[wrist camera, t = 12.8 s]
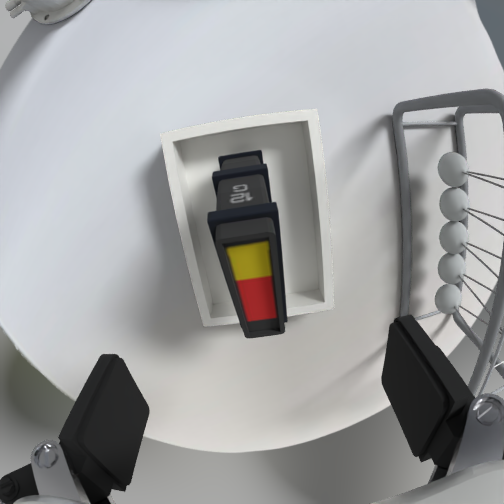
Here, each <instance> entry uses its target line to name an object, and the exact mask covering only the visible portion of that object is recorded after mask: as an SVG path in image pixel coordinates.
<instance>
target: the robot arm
mask: <svg viewBox="0 0 504 504" xmlns="http://www.w3.org/2000/svg"><path fill="white" fill-rule="evenodd" d="M89 1H91V0H9V1H8V2H7V3H6V5H5V7H6V9H7V10H8V11H11V10H13V9H14V8H15V9H14V10H13V11H11V13H10V16H11V17H12V18H15V17H16V16H18V15H19V14H21V13H22V12H23V11H24V10H25V11H30V13H31V16H32V17H33V19H34V20H36V21H37V22H40V23H42V24H53V23H57V22H60V21H62V20H64V19H66V18H68V17H70V16H72V15H73V14H75V13H76V12H78V11H79V10H80V9H81V8H83V7H84V6H85V5H86V4H87V3H88V2H89ZM20 4H21V5H20ZM18 5H20V6H18ZM17 6H18V7H17ZM16 7H17V8H16ZM381 379H382V385H383V388H384V390H385V392H386V394H387V396H388V399H389V401H390V403H391V405H392V407H393V409H394V412H395V414H396V416H397V418H398V421H399V423H400V425H401V427H402V430H403V432H404V434H405V437H406V439H407V441H408V444H409V446H410V448H411V450H412V453H413V455H414V456H415V457H417V456H419V459H420V461H421V462H423V461H426V460H428V459H430V458H432V460H433V462H434V464H435V467H434V470H433V473H432V475H431V477H430V480H429V482H428V484H427V485H424V486H421V487H419V488H416V489H414V490H411V491H408V492H405V493H402V494H399V495H396V496H394V497H390V498H387V499H384V500H381V501H377V502H374V503H371V504H504V400H503V399H502V398H501V397H499V396H498V395H495V394H492V393H485V394H481V395H479V396H477V397H476V398H475V397H474V395H473V394H472V392H471V391H470V389H469V388H468V386H467V385H466V384H465V382H464V381H463V379H462V378H461V377H460V375H459V374H458V372H457V371H456V370H455V368H454V367H453V365H452V364H451V363H450V361H449V360H448V359H447V357H446V356H445V355H444V353H443V352H442V351H441V349H440V348H439V347H438V346H436V345H435V344H434V343H433V342H432V340H431V339H430V338H429V336H428V335H427V334H426V332H425V331H424V330H423V329H422V327H421V326H420V325H419V324H418V322H417V321H416V320H415V319H414V317H413V316H412V315H406V316H402V317H398V318H395V320H394V323H391V324H390V327H389V334H388V341H387V348H386V354H385V361H384V366H383V372H382V378H381ZM148 416H149V406H148V404H147V402H146V401H145V399H144V397H143V396H142V394H141V392H140V390H139V388H138V387H137V385H136V383H135V381H134V379H133V377H132V376H131V374H130V372H129V370H128V368H127V366H126V364H125V362H124V360H123V359H122V358H120V357H119V356H118V355H117V354H103V355H101V356H100V358H99V359H98V361H97V363H96V365H95V367H94V368H93V370H92V372H91V374H90V376H89V377H88V379H87V381H86V383H85V385H84V387H83V389H82V391H81V393H80V394H79V396H78V398H77V400H76V402H75V404H74V406H73V408H72V410H71V412H70V414H69V416H68V418H67V420H66V422H65V424H64V427H63V428H62V431H61V433H60V435H59V437H58V438H59V439H60V443H59V444H58V443H57V442H56V441H53V440H46V441H43V442H41V443H39V444H38V445H37V446H36V447H35V448H34V449H33V451H32V454H31V463H30V464H28V465H26V466H24V467H22V468H20V469H18V470H16V471H13V472H11V473H9V474H7V475H5V476H4V477H2V478H1V480H0V504H116V503H115V501H114V500H113V498H112V496H111V494H110V492H111V489H114V490H119V491H125V490H126V486H127V485H129V484H130V483H131V479H132V475H133V471H134V467H135V463H136V460H137V456H138V452H139V448H140V445H141V441H142V438H143V434H144V430H145V427H146V423H147V420H148Z"/></svg>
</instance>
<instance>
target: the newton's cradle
mask: <svg viewBox="0 0 504 504" xmlns="http://www.w3.org/2000/svg"><path fill="white" fill-rule="evenodd" d="M458 106H459V107H458ZM446 107H458V109H457V111H456V113H455V122H402V117H403V113H404V112H410V111H417V110H426V109H435V108H446ZM467 113H500V115H501V118H502V122H503V130H504V95H502V94H501V93H499V92H498V91H496V90H493V89H478V90H470V91H462V92H455V93H448V94H442V95H436V96H430V97H424V98H419V99H413V100H408V101H403V102H400V103H398V104H397V105H396V106H395V108H394V110H393V117H392V120H393V128H394V135H395V142H396V150H397V158H398V167H399V178H400V190H401V205H402V230H403V270H402V296H401V311H400V317H402V316H406V315H408V310H409V298H410V282H411V252H412V230H411V200H410V184H409V172H408V162H407V153H406V144H405V137H404V130H403V126H410V125H455V128H456V136H457V145H458V153H455V152H449V153H446V154H444V155H443V156H442V157H441V159H440V160H439V163H438V173H439V176H440V178H441V179H442V181H443V182H444V183H445V184H447V185H449V186H451V187H452V188H448V189H447V190H445V191H444V192H443V193H442V195H441V198H440V209H441V212H442V214H443V215H444V216H445V217H446V218H447V219H448V220H450V222H448V223H446V224H445V225H444V226H443V227H442V229H441V231H440V235H439V239H440V244H441V246H442V247H443V249H444V250H445V251H446V252H448V253H447V254H445V255H444V256H443V257H442V258H441V259H440V261H439V264H438V274H439V276H440V278H441V279H442V280H443V281H444V282H446V283H448V284H445V285H443V286H441V287H440V288H439V289H438V291H437V292H436V295H435V304H436V307H437V308H438V310H439V311H435V312H432V313H429V314H426V315H423V316H420V317H416V318H414V319H415V320H419V319H422V318H426V317H429V316H432V315H435V314H438V313H441V312H442V313H445V314H451V313H452V315H453V318H454V321H455V323H456V324H457V325H458V326H459V327H460V329H461V330H462V331H463V332H464V333H465V334H466V335H467V336H468V337H469V338H470V340H471V341H472V342H473V343H474V344H475V345H476V346H477V347H478V349H479V350H480V354H479V357H478V360H477V363H476V366H475V369H474V371H473V374H472V377H471V380H470V382H469V384H468V388H469V389H470V391H471V392H472V394H473V395H474V396H475V394H476V391H477V389H478V387H479V385H480V382H481V380H482V377H483V375H484V372H485V370H486V367H487V364H488V362H490V363H491V366H490V368H489V371H488V374H487V376H486V378H485V381H484V383H483V385H482V388H481V390H480V392H479V395H481V394H482V393H483V391H484V389H485V387H486V384H487V382H488V380H489V378H490V375H491V373H492V370H493V368H494V367H495V369H496V370H497V371H498V372H499V373H500V375H501V376H502V377H503V378H504V364H503V362H504V361H503V362H501V361H500V360H499V358H498V355H499V352H500V349H501V346H502V344H503V341H504V328H503V329H502V328H501V327H500V325H501V322H502V318H503V315H504V243H503V252H502V258H501V257H499V256H497V255H495V254H492V253H490V252H488V251H486V250H484V249H481V248H479V247H477V246H475V245H472V244H470V243H468V242H469V234H468V231H467V230H468V213H469V214H471V215H472V216H474V217H475V218H477V219H479V220H480V221H482V222H483V223H485V224H486V225H488V226H490V227H491V228H493V229H494V230H496V231H497V232H499V233H500V234H501V235H503V236H504V234H503V233H502V232H500V231H499V230H497V229H496V228H494V227H493V226H491V225H490V224H488V223H486V222H485V221H483V220H482V219H480V218H478V217H477V216H475V215H474V214H472V213H470V212H469V210H472V211H475V212H479V213H482V214H485V215H488V216H491V217H494V218H497V219H500V220H502V221H504V219H502V218H499V217H496V216H493V215H490V214H487V213H484V212H480V211H477V210H474V209H471V208H470V201H469V198H468V177H469V176H472V177H475V178H478V179H481V180H483V181H486V182H489V183H491V184H494V185H496V186H499V187H501V188H504V186H501V185H499V184H496V183H494V182H491V181H488V180H485V179H483V178H480V177H477V176H474V175H471V174H469V173H472V174H477V175H482V176H487V177H492V178H496V179H501V180H504V178H499V177H495V176H490V175H485V174H480V173H475V172H469V166H468V163H467V156H466V145H465V135H464V127H463V117H464V115H465V114H467ZM459 186H460V188H456V187H459ZM458 221H460V222H458ZM468 244H469V245H471V246H473V247H475V248H478V249H480V250H482V251H484V252H487V253H489V254H491V255H493V256H495V257H497V258H499V259H501V266H500V272H499V277H498V276H497V275H496V274H495V273H494V272H493V271H492V270H491V269H490V268H489V267H488V266H487V265H486V264H485V263H484V262H483V261H482V260H481V259H479V258H478V257H477V256H476V255H475V254H474V253H473V252H472V251H470V250H469V249H468V248H467V245H468ZM466 249H467V250H468V251H469V252H471V253H472V254H473V255H474V256H475V257H476V258H477V259H478V260H479V261H480V262H481V263H483V264H484V265H485V266H486V267H487V268H488V269H489V270H490V271H491V272H492V273H493V274H494V275H495V276H496V277H497V278H498V284H497V289H496V292H495V291H493V290H491V289H490V288H488V287H486V286H484V285H483V284H481V283H479V282H477V281H476V280H474V279H472V278H470V277H468V276H467V275H465V273H466V263H465V258H466ZM458 253H459V254H458ZM464 276H466V277H467V278H469V279H471V280H473V281H475V282H476V283H478V284H480V285H481V286H483V287H485V288H487V289H488V290H490V291H492V292H494V293H495V299H494V303H493V308H492V312H491V313H490V312H489V311H488V309H487V308H486V307H485V306H484V304H483V303H482V302H481V301H480V299H479V298H478V297H477V296H476V294H475V293H474V292H473V291H472V290H471V288H470V287H469V286H468V285H467V284H466V282H465V281H464V280H463V277H464ZM463 282H464V283H465V285H466V286H467V287H468V288H469V289H470V291H471V292H472V293H473V294H474V296H475V297H476V298H477V299H478V300H479V302H480V303H481V304H482V306H483V307H484V308H485V309H486V311H487V312H488V313H489V315H490V320H489V324H488V323H486V322H485V321H483V320H482V319H480V318H479V317H477V316H476V315H474V314H473V313H471V312H469V311H468V310H466V309H465V308H463V307H462V306H460V305H461V301H462V295H461V291H462V284H463ZM453 284H455V285H453ZM459 307H461V308H462V309H464V310H465V311H467V312H469V313H470V314H472V315H473V316H475V317H476V318H478V319H479V320H481V321H482V322H484V323H486V324H487V325H488V328H487V331H486V335H485V338H484V341H482V340H481V338H480V337H479V336H478V335H477V334H475V332H474V331H473V330H472V329H471V328H470V327H469V326H468V325H467V323H466V322H465V320H464V319H463V317H462V316H461V315H460V313H459ZM499 329H500V330H501V331H502V333H501V332H500V331H499ZM498 332H499V333H500V334H501V338H500V341H499V344H498V347H497V350H496V353H495V354H494V353H493V352H492V351H493V348H494V345H495V342H496V338H497V335H498ZM503 389H504V386H502V387H500V388H499V389H497V390H495V391H494V392H492V394H496V393H498V392H500V391H501V390H503ZM479 395H478V396H479Z"/></svg>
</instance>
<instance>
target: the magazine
mask: <svg viewBox="0 0 504 504" xmlns="http://www.w3.org/2000/svg"><path fill="white" fill-rule="evenodd" d="M218 161H219V166H220V171H214V172H213V173H212V181H213V185H214V190H215V194H216V198H217V203H216V211H212V212H208V214H207V223H208V226H209V229H210V233H211V236H212V239H213V242H214V246H215V249H216V252H217V255H218V258H219V261H220V265H221V268H222V271H223V274H224V277H225V280H226V283H227V286H228V289H229V292H230V295H231V298H232V301H233V304H234V307H235V310H236V313H237V316H238V319H239V322H240V325H241V328H242V329H243V332H244V335H245V337H246V338H256V337H264V336H271V335H278V334H283V333H284V332H285V325H284V323H285V322H287V308H286V294H285V281H284V268H283V256H282V245H281V233H280V222H279V212H278V207H277V203H276V202H272V198H271V190H270V181H269V173H268V167H267V164H266V163H265V164H264V163H263V156H262V151H261V150H255V151H248V152H242V153H236V154H230V155H224V156H219V157H218Z"/></svg>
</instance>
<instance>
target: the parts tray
mask: <svg viewBox="0 0 504 504" xmlns="http://www.w3.org/2000/svg"><path fill="white" fill-rule="evenodd" d="M160 137H161V143H162V148H163V154H164V159H165V165H166V170H167V175H168V181H169V186H170V191H171V195H172V200H173V205H174V210H175V214H176V219H177V224H178V228H179V232H180V237H181V241H182V245H183V250H184V254H185V258H186V262H187V266H188V270H189V274H190V278H191V282H192V286H193V290H194V293H195V297H196V301H197V305H198V308H199V312H200V316H201V319H202V323H203V326H204V327H208V326H218V325H227V324H235V323H240V322H239V319H238V316H237V313H236V310H235V307H234V304H233V301H232V298H231V295H230V292H229V289H228V286H227V283H226V280H225V277H224V274H223V271H222V268H221V265H220V261H219V258H218V255H217V252H216V249H215V246H214V242H213V239H212V236H211V233H210V229H209V226H208V223H207V214H208V212H212V211H216V203H217V198H216V194H215V190H214V185H213V181H212V173H213V172H214V171H220V166H219V161H218V157H219V156H224V155H230V154H236V153H242V152H248V151H255V150H261V151H262V156H263V163H264V164H265V163H266V164H267V167H268V173H269V181H270V190H271V198H272V202H276V203H277V207H278V212H279V222H280V233H281V245H282V256H283V268H284V281H285V294H286V308H287V317H288V316H294V315H301V314H307V313H313V312H319V311H325V310H331V309H334V283H333V259H332V241H331V226H330V213H329V201H328V191H327V180H326V171H325V162H324V154H323V146H322V138H321V131H320V124H319V117H318V110H317V109H307V110H295V111H285V112H276V113H268V114H260V115H253V116H246V117H239V118H233V119H227V120H221V121H216V122H210V123H205V124H200V125H195V126H190V127H186V128H181V129H177V130H172V131H168V132H164V133H160Z"/></svg>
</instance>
